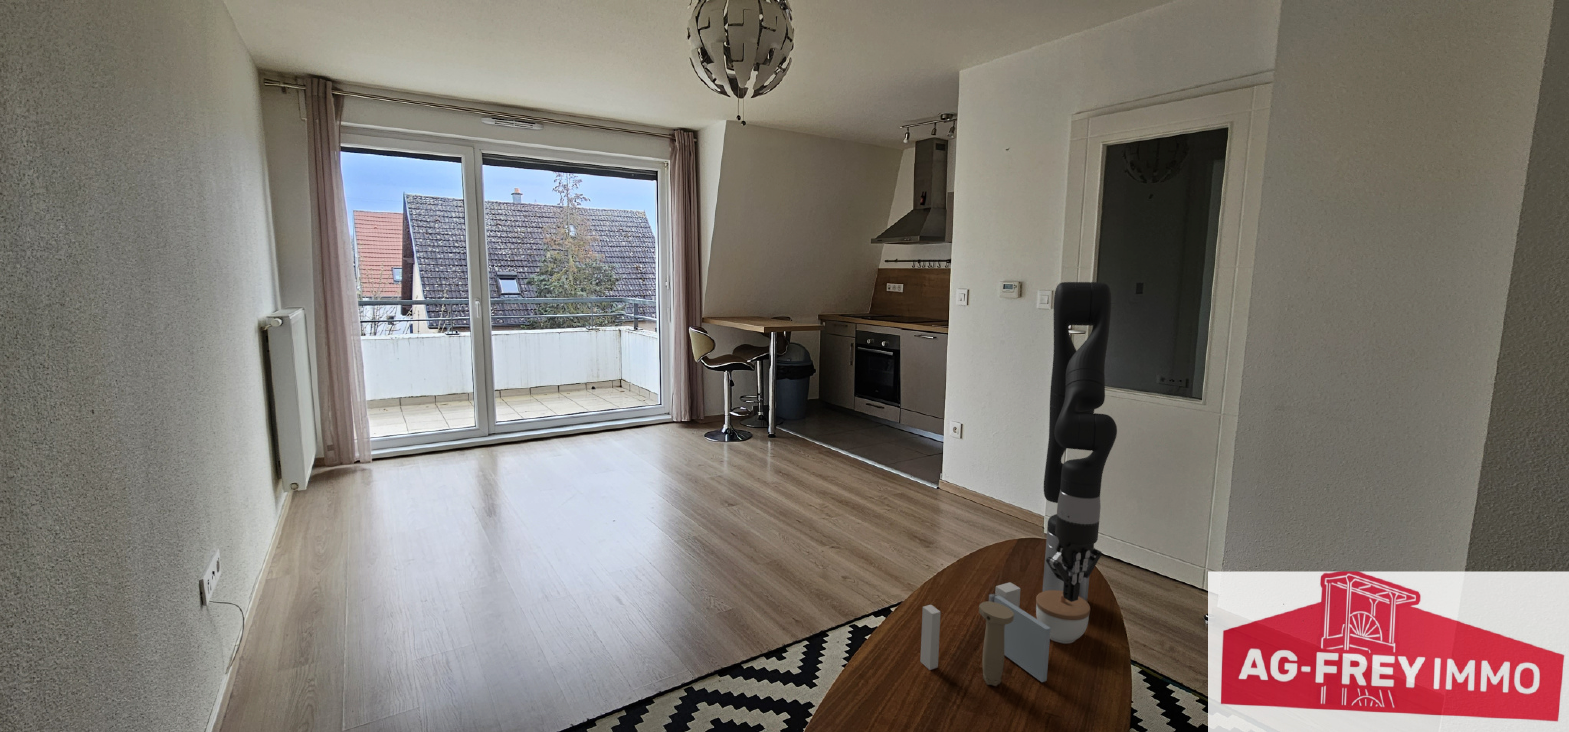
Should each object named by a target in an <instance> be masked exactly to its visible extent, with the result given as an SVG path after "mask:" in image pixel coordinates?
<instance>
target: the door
mask: <svg viewBox="0 0 1569 732" xmlns="http://www.w3.org/2000/svg"><path fill="white" fill-rule="evenodd" d="M988 601H990V602H995V603H999V604H1001V605H1004V606H1006V607H1008V608H1009V609H1010V610H1011V611H1012V612H1013V613H1014V619H1013V621H1012V622H1011V623H1009V624H1006V625H1005V628H1004V657H1007V658H1008V659H1009V660H1011V661H1012V662H1014V663H1015V664H1016V665H1018V666H1019V667H1021V668H1022V669H1023V670H1025V671H1026V672H1027V673H1029V675H1031V676H1033V677H1034V678H1035V679H1037V680H1038V681H1040V682H1041V683H1044V682H1046V681H1047V679H1048V668H1049V666H1048V665H1049V657H1050V656H1049V653H1050V643H1051V642H1050V641H1051V639H1050V631H1051V628H1050V627H1048V626H1047V625H1045V624H1044V623H1042V622H1041V621H1039V620H1037V617H1035V616H1033V615H1032V614H1030V613H1028V612H1026V611H1025V610H1023V609H1022V608H1021V607H1019V608H1018V607H1017V606H1015V605H1014V604H1012V603H1010V602H1009V601H1007V600H1006V599H1004V598H1003V597H1001V596H999V595H998V596H997V595H995V593H990V594H988Z"/></svg>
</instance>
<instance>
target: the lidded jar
mask: <svg viewBox="0 0 1569 732" xmlns="http://www.w3.org/2000/svg"><path fill="white" fill-rule="evenodd" d="M1035 604H1036V605H1035V611H1036V612H1035V614H1036V615H1035V616H1036V619H1037V620H1039V621H1041V622H1042V623H1044V624H1045V625H1047V626H1048V627H1050V628H1051V631H1050V641H1053V642H1056V643H1058V644H1059V643H1060V644H1068V645H1069V644H1072V643H1074V642H1075V641H1076V640H1078V639H1080V638H1081V637H1082V636H1083V635H1084V633H1086V629H1087V628H1088V625H1089V620H1090V618H1089V617H1090V614H1091V606H1090V604H1089V603H1088V600H1087V601H1085V600H1084V599H1083V598H1081V597H1079V596H1078V600H1076V601H1073V602H1070V601H1069V600H1067V599H1065V598H1064V596H1063V591H1059V590H1048V591H1043V590H1042V591H1041V592H1039V593H1038V594H1037V595H1036V598H1035Z"/></svg>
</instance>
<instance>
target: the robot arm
mask: <svg viewBox="0 0 1569 732" xmlns="http://www.w3.org/2000/svg"><path fill="white" fill-rule="evenodd" d="M1111 311H1112V293H1111V289H1110V287H1109V285H1108V284H1107V283H1105V282H1099V281H1066V282H1065V281H1064V282H1059V283H1058V284H1057V285H1056V287H1055V291H1054V296H1053V356H1052V370H1051V381H1050V392H1049V394H1050V395H1049V416H1048V417H1049V420H1048V421H1049V425H1048V428H1049V429H1048V440H1047V441H1048V442H1047V451H1046V460H1045V467H1044V479H1043V495H1044V497H1045V500H1047V501H1048V502H1050V503H1054V504H1057V506H1056V514H1053V515H1051V516H1050V517H1049V518H1048V520H1047V527H1046V528H1047V529H1046V541H1045V542H1046V543H1045V552H1044V553H1045V555H1044V556H1045V557H1044V569H1043V579H1042V580H1043V581H1042V592H1043V591H1048V590H1059V591H1063V596H1064V598H1065V599H1067V600H1069V601H1070V602H1073V601H1076V600H1078V596H1079V597H1081V598H1083V599H1084V600H1085V601H1087V602H1088V594H1089V584H1090V583H1089V582H1090V575H1092V572H1093V570H1094V569H1095V567H1096V566H1097V563H1098V562H1099V560H1100V558H1101V557H1102V555H1103V554H1102V551H1100V550H1098V548H1095V544H1096V543H1097V542H1098V540H1099V538H1098V537H1099V529H1100V518H1101V505H1102V504H1101V488H1102V481H1103V480H1102V479H1103V473H1104V469H1105V466H1106V463H1107V460H1108V458H1109V455H1110V453H1111V450H1112V448H1113V446H1114V444H1115V442H1116V439H1117V434H1118V427H1117V424H1116V421H1115V419H1114V417H1111V416H1110V415H1109V414H1105V413H1095V410H1097V409H1099V408H1100V407H1101V406H1103V405H1104V403H1105V400H1106V384H1105V383H1106V378H1105V369H1106V368H1105V365H1106V356H1107V349H1108V343H1109V336H1110V335H1109V334H1110V326H1111V325H1110V323H1111V315H1112V312H1111ZM1069 326H1083V327H1085V326H1092V330H1091V333H1089V335H1088V337H1087V338H1086V340H1085V341H1083V343H1082V344H1081V346H1080V347H1078V349H1077V348H1076V347H1075V344H1074V342H1073V340H1072V337H1071V334H1070V330H1069V329H1070V327H1069ZM1067 449H1069V450H1081V451H1091V453H1090V454H1089V455H1088V456H1086V457H1083V458H1082V457H1081V458H1075V459H1068V460H1066V461H1064V462H1063V463H1062V458H1063V457H1064V456H1063V455H1064V453H1065V452H1066V450H1067Z"/></svg>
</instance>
